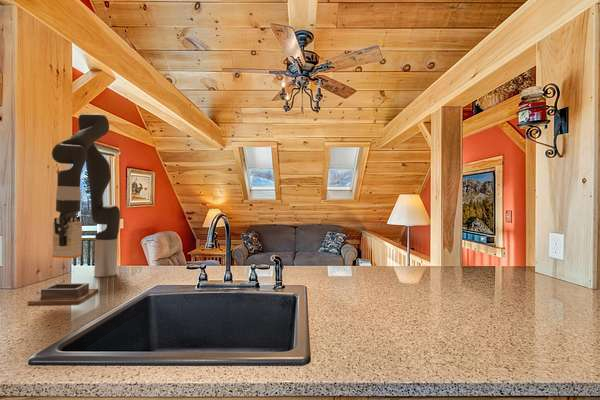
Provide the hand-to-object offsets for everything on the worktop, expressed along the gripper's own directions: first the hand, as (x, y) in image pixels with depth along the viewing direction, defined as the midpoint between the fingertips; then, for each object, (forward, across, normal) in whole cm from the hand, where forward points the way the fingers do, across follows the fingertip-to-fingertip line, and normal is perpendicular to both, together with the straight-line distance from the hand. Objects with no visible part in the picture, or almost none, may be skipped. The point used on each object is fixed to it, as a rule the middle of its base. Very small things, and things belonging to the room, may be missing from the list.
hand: (67, 244), depth 128 cm
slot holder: (+19, 0, 0) cm, 19 cm away
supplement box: (+5, 0, 0) cm, 5 cm away
